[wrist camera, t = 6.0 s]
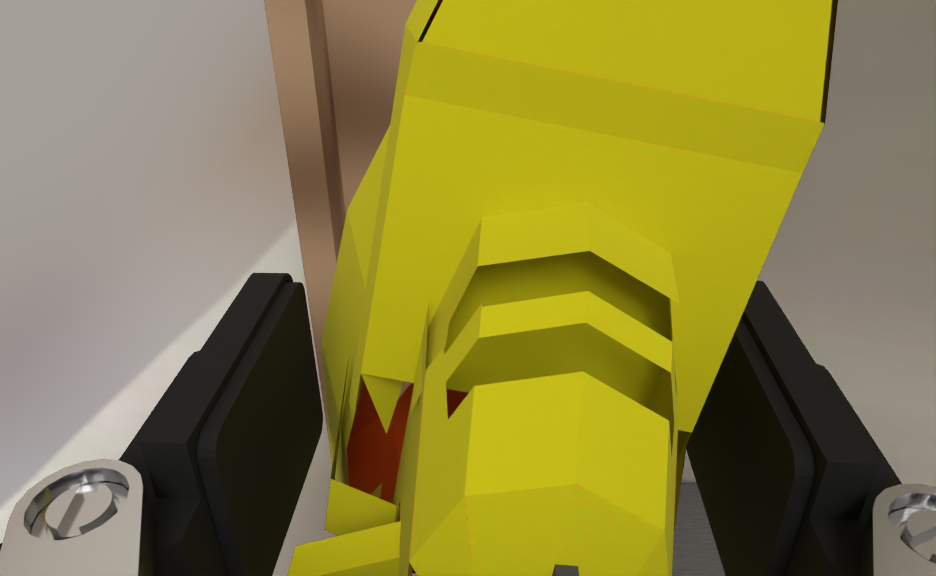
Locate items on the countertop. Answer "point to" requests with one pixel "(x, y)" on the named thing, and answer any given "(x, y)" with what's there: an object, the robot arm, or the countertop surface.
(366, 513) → the toy boat
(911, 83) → the countertop surface
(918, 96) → the countertop surface
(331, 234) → the bay
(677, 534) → the grey rectangular block
